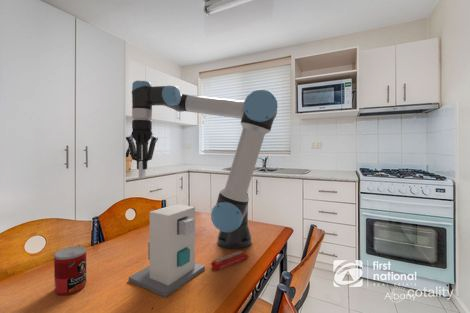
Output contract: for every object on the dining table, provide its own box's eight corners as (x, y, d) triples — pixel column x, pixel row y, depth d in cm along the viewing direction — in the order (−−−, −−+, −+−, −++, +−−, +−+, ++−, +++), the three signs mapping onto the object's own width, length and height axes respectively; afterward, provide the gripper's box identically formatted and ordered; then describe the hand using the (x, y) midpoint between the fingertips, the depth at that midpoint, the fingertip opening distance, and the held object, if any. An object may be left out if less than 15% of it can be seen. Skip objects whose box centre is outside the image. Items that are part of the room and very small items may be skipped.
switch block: (128, 280, 74) (128, 211, 73) (170, 258, 90) (170, 200, 89) (165, 297, 66) (165, 219, 65) (204, 269, 82) (205, 206, 81)
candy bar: (215, 272, 80) (215, 264, 80) (209, 268, 83) (209, 260, 83) (249, 259, 90) (249, 251, 90) (243, 255, 93) (243, 248, 93)
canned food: (71, 297, 65) (70, 258, 65) (47, 294, 67) (46, 255, 67) (92, 282, 73) (92, 247, 73) (71, 279, 75) (70, 244, 74)
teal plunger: (148, 259, 79) (148, 242, 78) (161, 253, 83) (161, 237, 83) (179, 270, 72) (179, 252, 72) (191, 262, 77) (191, 245, 76)
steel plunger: (152, 230, 77) (152, 213, 77) (165, 225, 82) (165, 209, 82) (183, 238, 71) (184, 220, 70) (195, 233, 75) (196, 215, 75)
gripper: (160, 121, 101) (160, 176, 102) (131, 121, 102) (131, 175, 103) (153, 119, 93) (153, 178, 94) (121, 118, 94) (122, 178, 95)
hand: (142, 177), depth 98 cm, fingers closed
